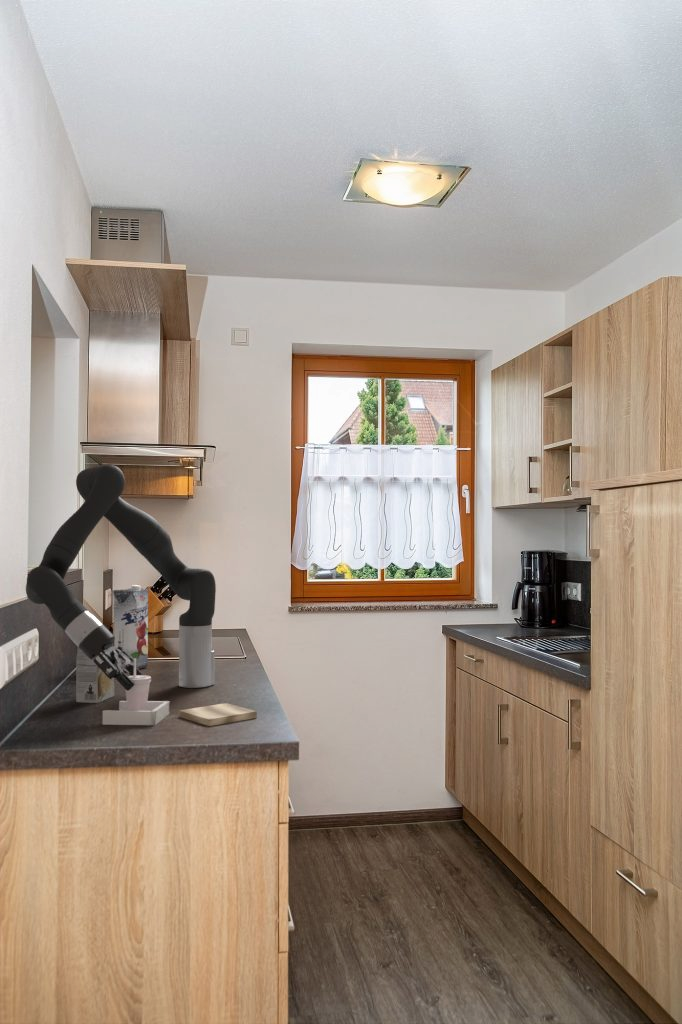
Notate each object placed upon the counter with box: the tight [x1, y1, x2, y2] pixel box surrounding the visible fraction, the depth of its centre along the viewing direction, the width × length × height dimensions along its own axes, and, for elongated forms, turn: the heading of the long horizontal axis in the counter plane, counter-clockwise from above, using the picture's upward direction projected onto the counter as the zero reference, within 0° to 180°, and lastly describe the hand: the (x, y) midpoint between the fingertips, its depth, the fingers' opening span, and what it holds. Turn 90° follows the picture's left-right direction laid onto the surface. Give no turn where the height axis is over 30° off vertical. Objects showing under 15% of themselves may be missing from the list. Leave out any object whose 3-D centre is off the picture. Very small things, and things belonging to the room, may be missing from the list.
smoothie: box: [124, 658, 152, 711], centre depth 191 cm, size 6×6×14 cm
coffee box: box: [75, 642, 115, 704], centre depth 215 cm, size 9×6×16 cm
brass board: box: [178, 702, 258, 727], centre depth 193 cm, size 13×13×2 cm
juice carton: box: [112, 584, 149, 672], centre depth 265 cm, size 9×10×27 cm
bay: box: [102, 700, 171, 726], centre depth 191 cm, size 12×12×3 cm
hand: (137, 684), depth 191 cm, fingers open, 8 cm apart
